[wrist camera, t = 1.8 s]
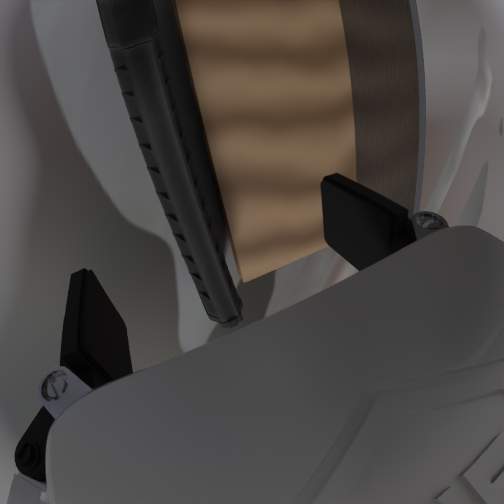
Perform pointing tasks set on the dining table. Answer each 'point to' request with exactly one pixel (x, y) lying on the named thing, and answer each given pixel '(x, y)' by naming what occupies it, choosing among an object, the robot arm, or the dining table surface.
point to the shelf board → (270, 118)
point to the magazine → (167, 150)
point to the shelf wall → (387, 96)
